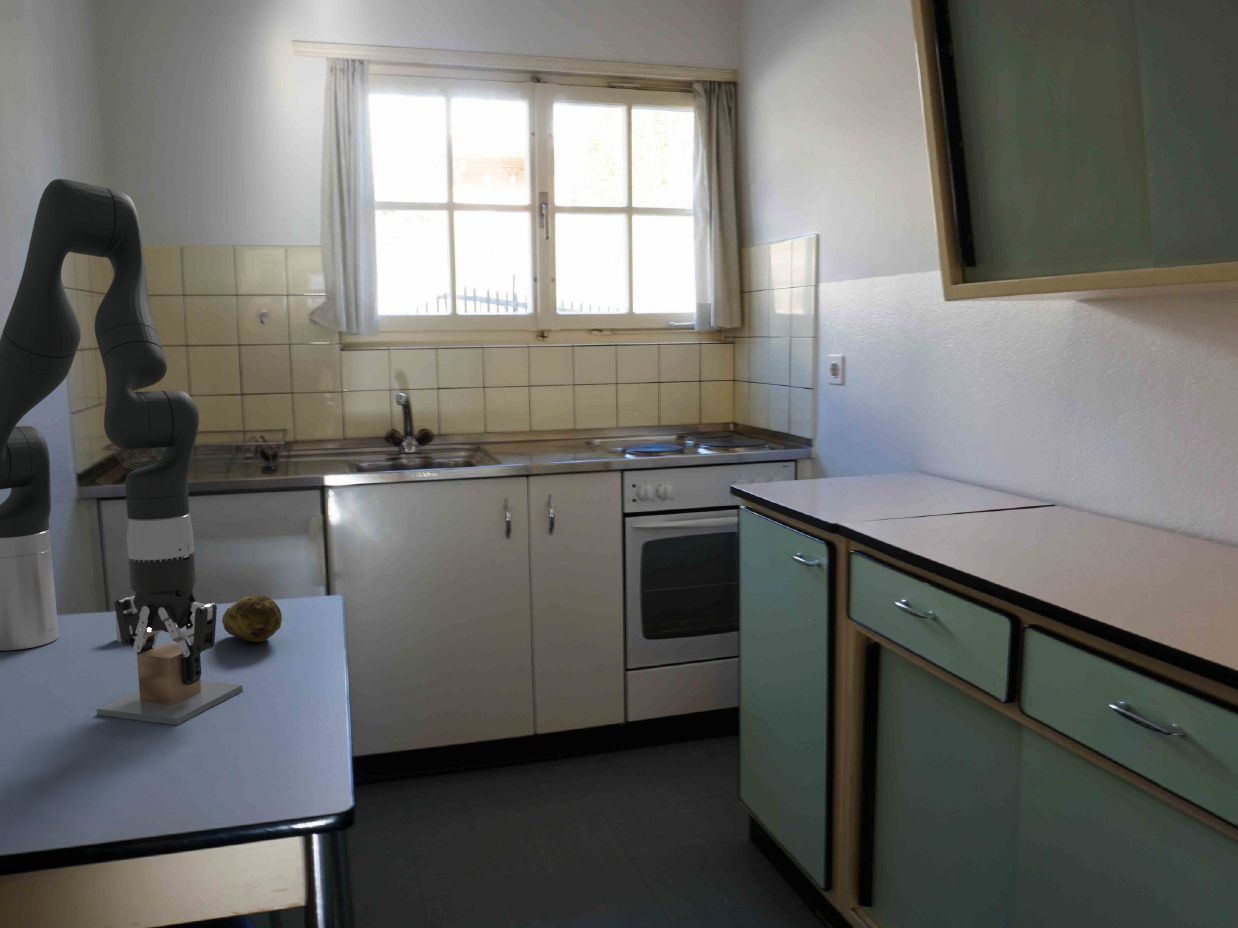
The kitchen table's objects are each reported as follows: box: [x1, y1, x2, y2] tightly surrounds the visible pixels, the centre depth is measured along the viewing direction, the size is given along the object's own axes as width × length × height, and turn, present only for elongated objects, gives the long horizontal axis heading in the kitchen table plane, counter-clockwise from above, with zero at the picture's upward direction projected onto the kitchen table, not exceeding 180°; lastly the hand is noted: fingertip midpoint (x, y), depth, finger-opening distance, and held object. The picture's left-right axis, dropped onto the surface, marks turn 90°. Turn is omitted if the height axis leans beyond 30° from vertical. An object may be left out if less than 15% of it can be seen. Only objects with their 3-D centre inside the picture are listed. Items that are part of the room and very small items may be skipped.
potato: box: [221, 595, 283, 643], centre depth 149 cm, size 8×13×8 cm, turn 23°
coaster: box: [96, 679, 244, 726], centre depth 125 cm, size 12×12×1 cm
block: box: [136, 642, 201, 705], centre depth 125 cm, size 5×5×6 cm
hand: (170, 680), depth 125 cm, fingers open, 6 cm apart
